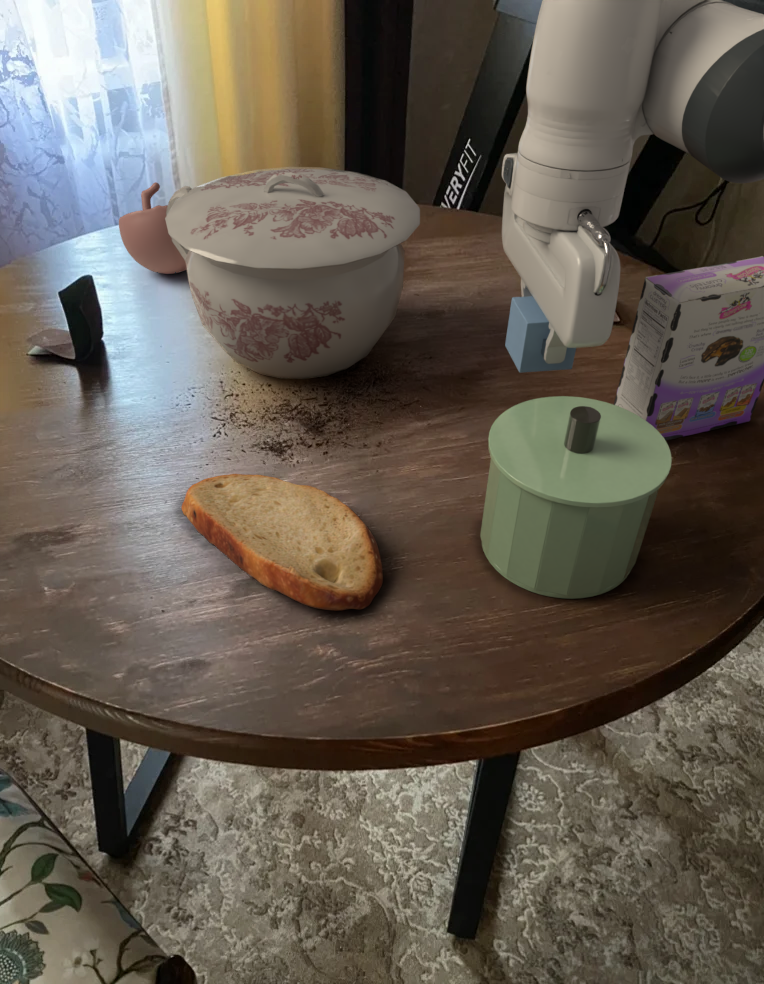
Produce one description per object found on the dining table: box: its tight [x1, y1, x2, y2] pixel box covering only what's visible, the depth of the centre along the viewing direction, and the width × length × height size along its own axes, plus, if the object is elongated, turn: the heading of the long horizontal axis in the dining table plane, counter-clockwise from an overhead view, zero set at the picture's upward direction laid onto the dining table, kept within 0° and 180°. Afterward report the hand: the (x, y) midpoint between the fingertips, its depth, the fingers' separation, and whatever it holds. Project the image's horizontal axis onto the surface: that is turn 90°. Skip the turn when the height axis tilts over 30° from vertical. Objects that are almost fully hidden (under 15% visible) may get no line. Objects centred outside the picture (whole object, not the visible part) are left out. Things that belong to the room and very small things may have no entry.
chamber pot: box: [165, 166, 421, 380], centre depth 95 cm, size 28×27×21 cm
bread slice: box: [181, 473, 384, 611], centre depth 74 cm, size 18×18×4 cm
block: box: [504, 296, 577, 374], centre depth 77 cm, size 5×5×5 cm
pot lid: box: [487, 395, 673, 508], centre depth 68 cm, size 15×15×4 cm
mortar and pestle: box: [118, 182, 187, 275], centre depth 114 cm, size 12×12×11 cm
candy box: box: [613, 255, 764, 442], centre depth 84 cm, size 14×6×16 cm, turn 108°
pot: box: [479, 457, 660, 600], centre depth 72 cm, size 14×14×10 cm
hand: (541, 341), depth 78 cm, fingers closed on block, 5 cm apart
